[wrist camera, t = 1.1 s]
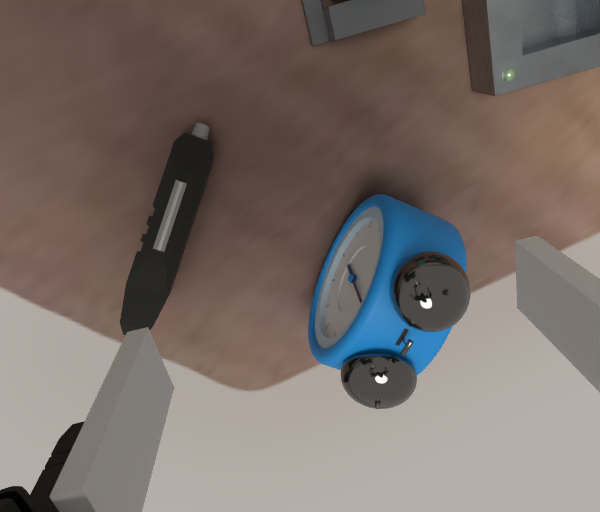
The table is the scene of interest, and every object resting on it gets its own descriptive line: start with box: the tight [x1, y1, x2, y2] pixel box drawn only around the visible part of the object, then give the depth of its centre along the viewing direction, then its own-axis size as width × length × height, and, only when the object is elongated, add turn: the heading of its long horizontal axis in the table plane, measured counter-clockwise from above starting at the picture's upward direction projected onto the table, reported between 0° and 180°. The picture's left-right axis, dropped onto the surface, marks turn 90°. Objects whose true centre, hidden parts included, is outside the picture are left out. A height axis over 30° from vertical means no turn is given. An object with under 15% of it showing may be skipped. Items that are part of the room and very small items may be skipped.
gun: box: [120, 123, 213, 335], centre depth 37 cm, size 3×16×10 cm, turn 159°
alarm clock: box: [308, 194, 470, 409], centre depth 34 cm, size 13×6×15 cm, turn 156°
